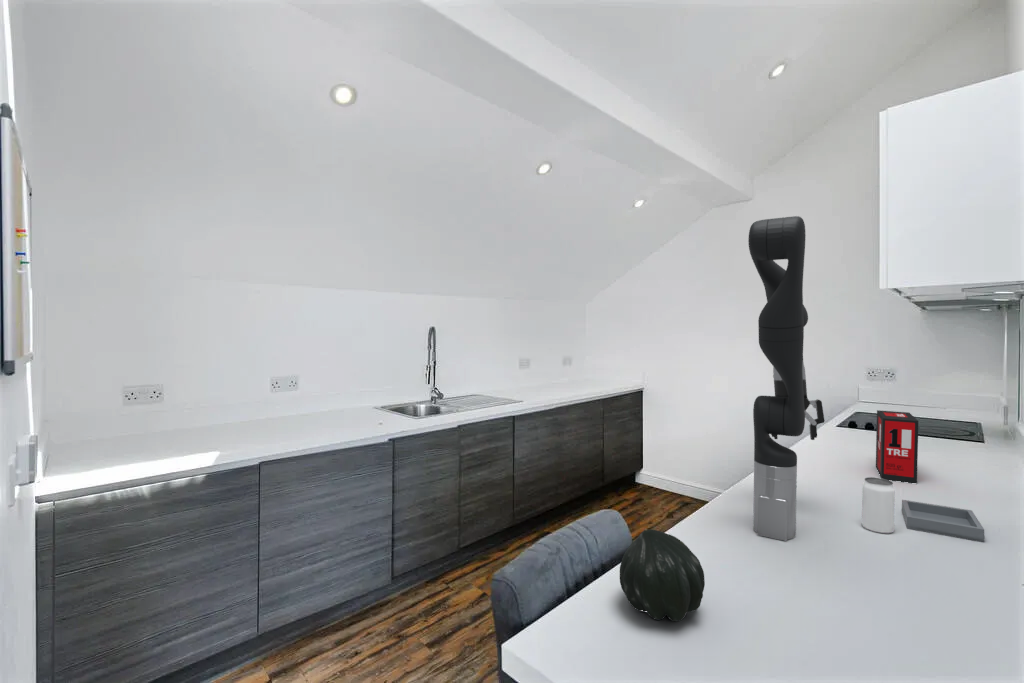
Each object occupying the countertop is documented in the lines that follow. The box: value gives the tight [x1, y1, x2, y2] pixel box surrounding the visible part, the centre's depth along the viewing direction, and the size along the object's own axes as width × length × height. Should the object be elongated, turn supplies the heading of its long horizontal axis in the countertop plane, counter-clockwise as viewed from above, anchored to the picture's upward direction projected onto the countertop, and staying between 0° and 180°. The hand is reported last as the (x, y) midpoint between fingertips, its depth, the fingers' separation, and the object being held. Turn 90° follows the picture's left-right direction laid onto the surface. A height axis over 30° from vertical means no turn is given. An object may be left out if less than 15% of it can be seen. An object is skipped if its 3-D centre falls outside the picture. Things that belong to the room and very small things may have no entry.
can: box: [861, 476, 896, 535], centre depth 122 cm, size 6×6×12 cm
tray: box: [901, 499, 985, 543], centre depth 124 cm, size 14×14×3 cm
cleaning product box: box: [875, 409, 919, 484], centre depth 164 cm, size 16×9×20 cm, turn 149°
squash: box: [619, 528, 706, 622], centre depth 89 cm, size 14×15×15 cm
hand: (794, 439), depth 132 cm, fingers open, 8 cm apart
